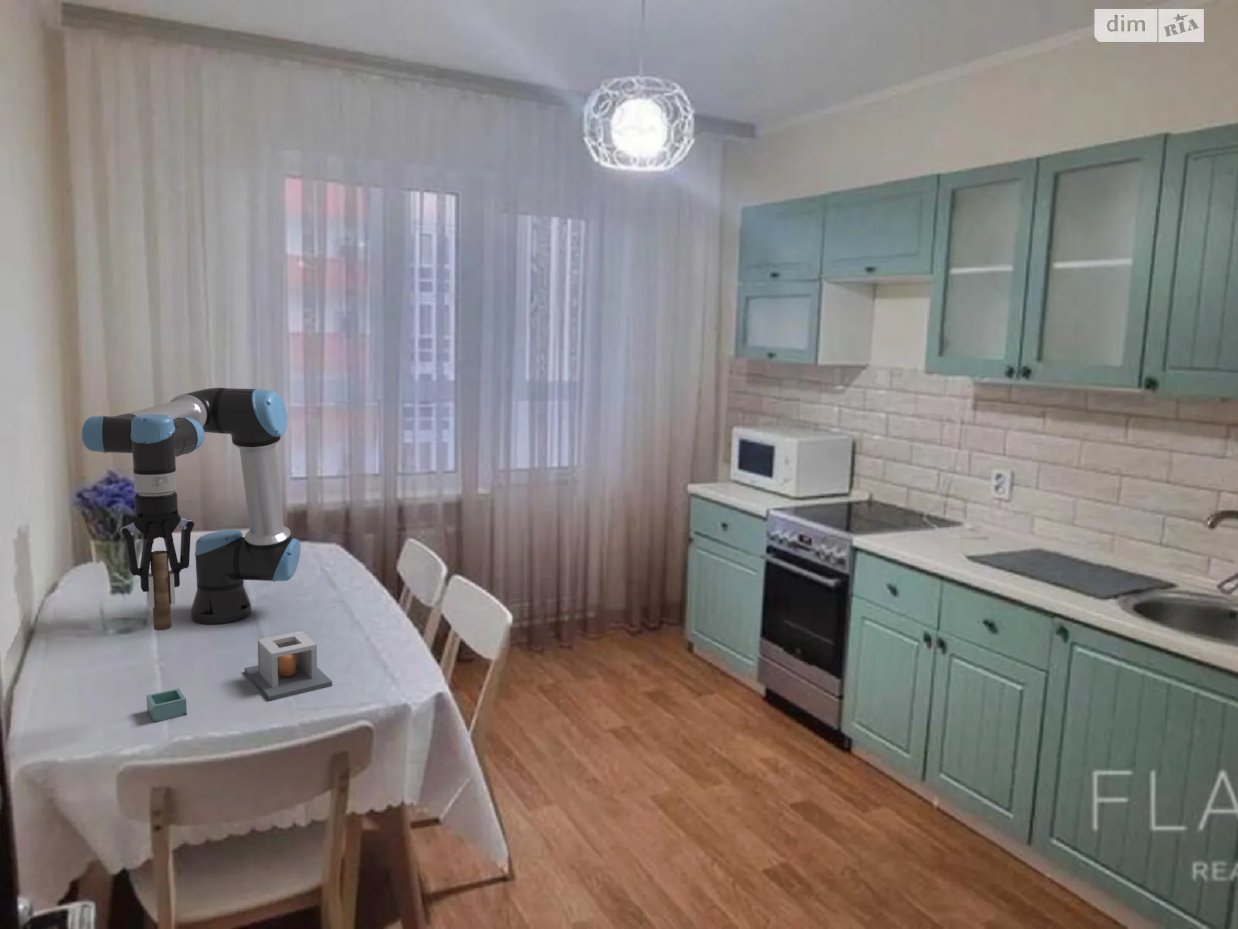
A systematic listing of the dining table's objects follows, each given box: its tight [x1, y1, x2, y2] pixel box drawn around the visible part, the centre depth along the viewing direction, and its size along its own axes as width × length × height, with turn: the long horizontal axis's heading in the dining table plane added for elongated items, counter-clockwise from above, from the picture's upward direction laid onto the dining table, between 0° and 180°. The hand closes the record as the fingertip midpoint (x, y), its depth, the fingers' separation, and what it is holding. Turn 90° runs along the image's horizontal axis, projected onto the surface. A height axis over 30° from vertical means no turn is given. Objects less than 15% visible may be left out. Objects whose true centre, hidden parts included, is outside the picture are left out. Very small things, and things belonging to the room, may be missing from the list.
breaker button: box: [279, 653, 297, 676], centre depth 198 cm, size 4×4×4 cm
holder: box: [146, 687, 188, 723], centre depth 180 cm, size 6×6×4 cm
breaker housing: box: [244, 630, 333, 702], centre depth 198 cm, size 18×14×9 cm
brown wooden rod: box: [150, 550, 172, 631], centre depth 175 cm, size 3×3×16 cm
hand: (161, 604), depth 176 cm, fingers closed on brown wooden rod, 3 cm apart
